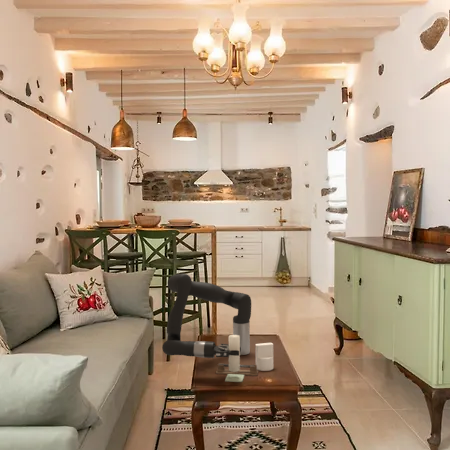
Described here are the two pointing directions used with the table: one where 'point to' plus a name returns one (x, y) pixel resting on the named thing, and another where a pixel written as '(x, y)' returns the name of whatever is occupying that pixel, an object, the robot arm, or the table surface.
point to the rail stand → (250, 372)
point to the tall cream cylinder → (233, 360)
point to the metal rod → (240, 365)
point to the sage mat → (234, 378)
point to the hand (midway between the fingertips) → (239, 351)
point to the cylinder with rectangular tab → (264, 356)
